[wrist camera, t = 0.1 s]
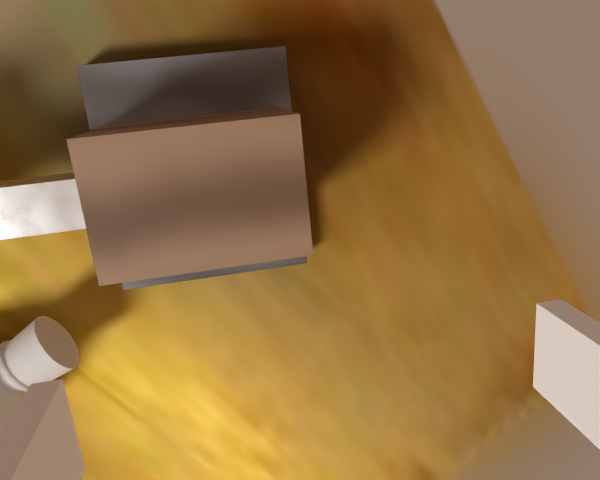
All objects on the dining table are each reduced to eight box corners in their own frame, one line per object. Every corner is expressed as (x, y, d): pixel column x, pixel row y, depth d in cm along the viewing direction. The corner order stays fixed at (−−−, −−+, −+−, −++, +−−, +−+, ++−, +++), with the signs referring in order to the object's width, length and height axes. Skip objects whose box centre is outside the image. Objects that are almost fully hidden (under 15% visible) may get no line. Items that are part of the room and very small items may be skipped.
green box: (-120, 148, 36) (-257, 174, 25) (151, 119, 38) (128, 131, 28) (-84, 260, 38) (-195, 325, 28) (170, 226, 40) (155, 275, 30)
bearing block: (83, 66, 37) (26, 57, 25) (282, 48, 39) (311, 31, 27) (127, 280, 41) (95, 353, 30) (302, 255, 43) (335, 315, 32)
